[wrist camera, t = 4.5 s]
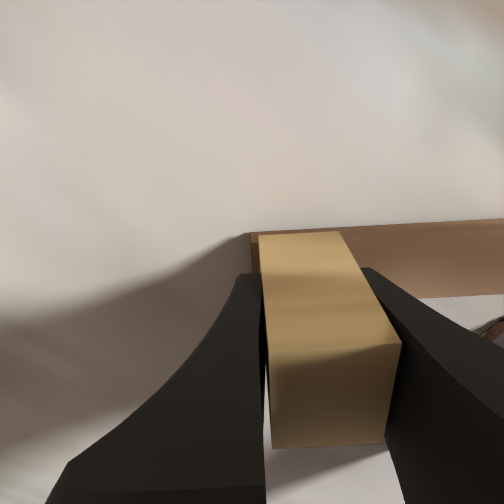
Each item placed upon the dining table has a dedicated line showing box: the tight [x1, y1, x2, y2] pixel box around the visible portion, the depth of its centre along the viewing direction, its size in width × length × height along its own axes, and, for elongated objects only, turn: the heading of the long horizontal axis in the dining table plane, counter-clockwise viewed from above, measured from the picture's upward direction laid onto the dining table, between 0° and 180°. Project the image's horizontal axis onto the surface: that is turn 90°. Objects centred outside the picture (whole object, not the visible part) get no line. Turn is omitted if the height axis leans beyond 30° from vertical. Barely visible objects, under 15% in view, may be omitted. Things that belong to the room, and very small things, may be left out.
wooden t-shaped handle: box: [250, 219, 504, 449], centre depth 12 cm, size 12×15×6 cm
